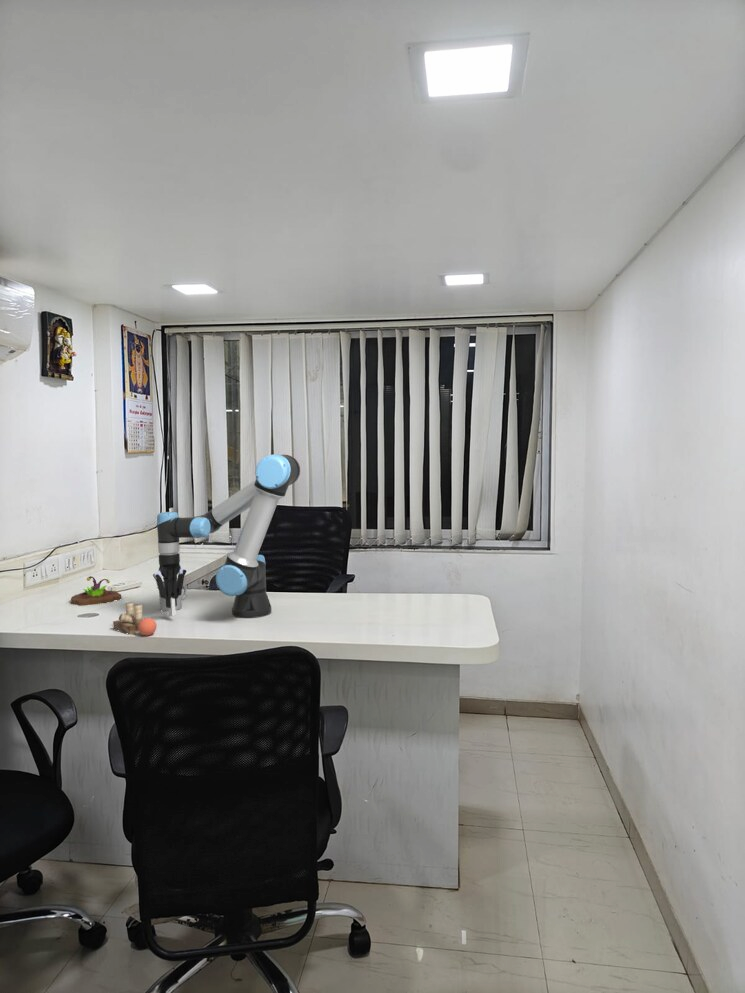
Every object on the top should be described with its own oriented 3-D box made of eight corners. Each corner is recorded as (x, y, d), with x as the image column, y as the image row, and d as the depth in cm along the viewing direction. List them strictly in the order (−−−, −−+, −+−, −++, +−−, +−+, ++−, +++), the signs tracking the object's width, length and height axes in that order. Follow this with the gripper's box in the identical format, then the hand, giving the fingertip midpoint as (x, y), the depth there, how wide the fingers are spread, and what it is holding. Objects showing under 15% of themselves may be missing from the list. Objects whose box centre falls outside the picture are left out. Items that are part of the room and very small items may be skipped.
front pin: (146, 620, 237) (124, 613, 231) (143, 627, 236) (121, 620, 230) (142, 620, 239) (120, 613, 233) (140, 627, 238) (117, 620, 232)
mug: (168, 612, 260) (166, 585, 259) (155, 609, 265) (154, 583, 264) (193, 606, 269) (191, 580, 268) (180, 604, 274) (179, 578, 274)
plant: (66, 600, 289) (64, 575, 288) (112, 594, 301) (111, 570, 300) (77, 608, 273) (75, 582, 272) (125, 601, 285) (123, 575, 284)
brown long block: (135, 633, 229) (135, 625, 228) (130, 635, 227) (129, 626, 227) (118, 628, 237) (118, 620, 236) (113, 629, 235) (113, 621, 235)
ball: (156, 618, 231) (158, 618, 225) (154, 635, 229) (156, 636, 224) (138, 617, 228) (140, 617, 223) (136, 635, 227) (138, 635, 222)
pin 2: (144, 630, 233) (143, 605, 233) (137, 631, 231) (136, 606, 231) (140, 629, 235) (139, 604, 234) (133, 630, 233) (132, 605, 232)
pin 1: (135, 627, 237) (134, 603, 236) (129, 629, 235) (127, 604, 234) (132, 626, 239) (131, 602, 238) (125, 628, 237) (124, 603, 236)
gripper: (178, 550, 252) (181, 610, 253) (147, 554, 242) (150, 617, 244) (189, 552, 247) (192, 613, 248) (158, 556, 237) (161, 620, 239)
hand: (171, 615), depth 246 cm, fingers closed
